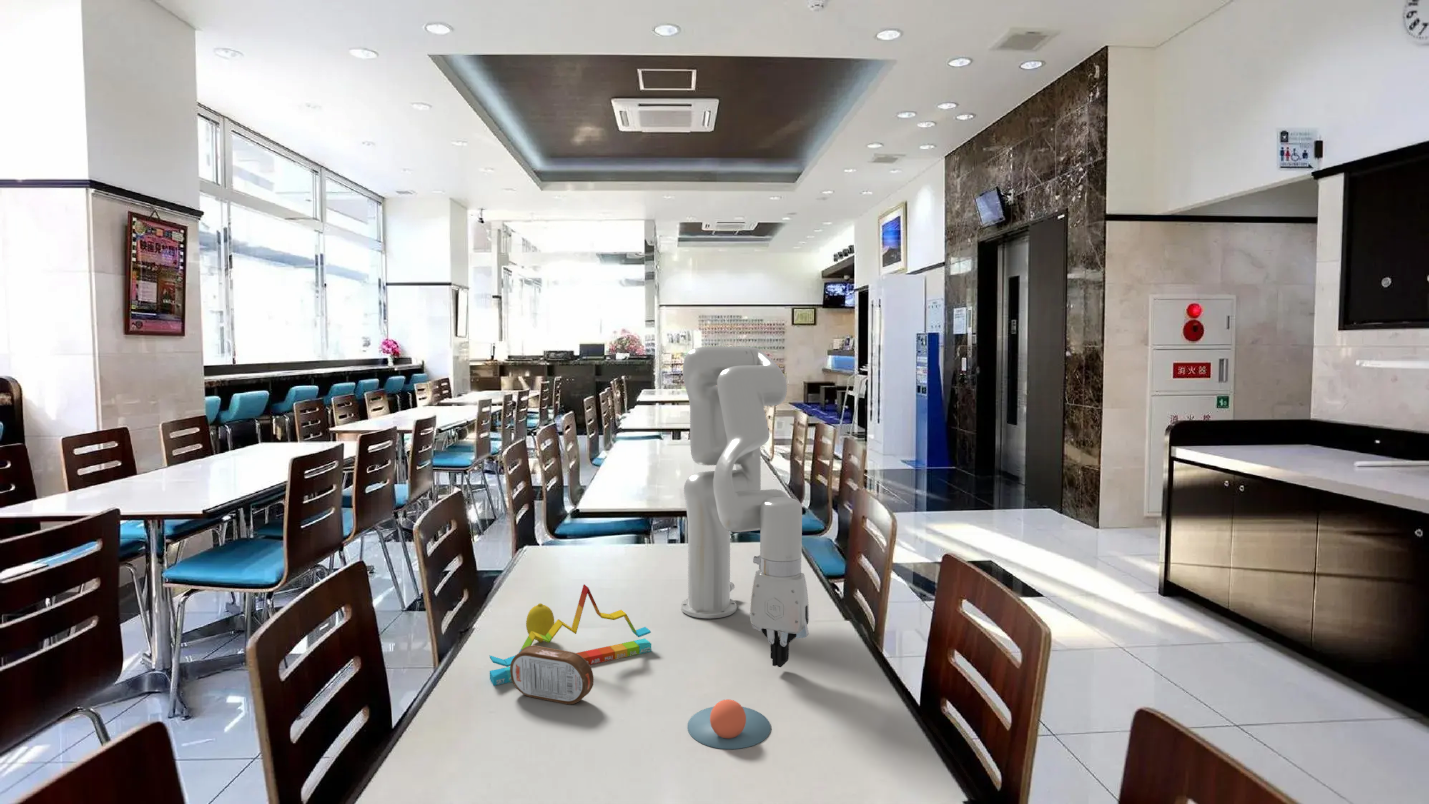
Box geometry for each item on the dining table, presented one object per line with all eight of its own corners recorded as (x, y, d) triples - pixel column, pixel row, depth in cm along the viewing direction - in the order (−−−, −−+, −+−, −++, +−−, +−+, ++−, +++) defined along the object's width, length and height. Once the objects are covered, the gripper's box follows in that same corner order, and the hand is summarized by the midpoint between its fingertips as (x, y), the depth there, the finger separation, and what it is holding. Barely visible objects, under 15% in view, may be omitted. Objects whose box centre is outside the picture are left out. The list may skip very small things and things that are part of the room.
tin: (594, 701, 123) (594, 652, 122) (585, 710, 120) (585, 660, 119) (518, 687, 128) (517, 640, 127) (507, 695, 125) (506, 647, 124)
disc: (710, 699, 123) (710, 698, 123) (782, 717, 118) (782, 716, 117) (672, 736, 112) (672, 735, 112) (750, 757, 106) (750, 756, 106)
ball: (702, 715, 109) (707, 742, 111) (736, 722, 107) (741, 749, 109) (715, 688, 114) (719, 715, 116) (748, 694, 112) (752, 721, 114)
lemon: (547, 648, 144) (547, 609, 143) (521, 646, 145) (521, 607, 145) (559, 638, 149) (558, 599, 149) (533, 635, 150) (533, 597, 150)
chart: (493, 688, 128) (492, 604, 127) (489, 681, 131) (488, 599, 130) (651, 653, 143) (651, 578, 142) (645, 647, 146) (645, 574, 145)
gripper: (734, 565, 133) (734, 663, 134) (813, 577, 126) (811, 680, 127) (751, 555, 139) (750, 648, 141) (826, 566, 133) (824, 663, 134)
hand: (779, 663), depth 134 cm, fingers closed
